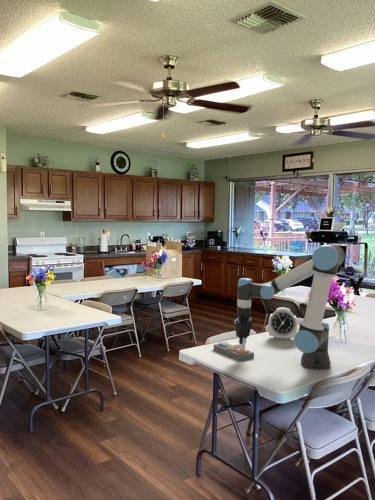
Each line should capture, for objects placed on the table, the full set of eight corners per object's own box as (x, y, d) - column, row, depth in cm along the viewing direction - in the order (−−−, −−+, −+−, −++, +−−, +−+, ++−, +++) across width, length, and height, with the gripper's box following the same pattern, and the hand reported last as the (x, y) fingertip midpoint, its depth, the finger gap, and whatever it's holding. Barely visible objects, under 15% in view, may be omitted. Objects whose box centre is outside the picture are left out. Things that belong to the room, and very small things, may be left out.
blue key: (230, 348, 247) (231, 343, 247) (224, 350, 244) (224, 344, 244) (225, 346, 251) (225, 341, 251) (218, 347, 249) (218, 342, 248)
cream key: (239, 349, 241) (239, 344, 241) (232, 350, 238) (233, 345, 238) (233, 347, 245) (234, 342, 245) (227, 348, 242) (227, 343, 242)
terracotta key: (248, 355, 235) (248, 350, 235) (241, 357, 232) (242, 351, 232) (242, 353, 239) (242, 348, 239) (235, 354, 236) (235, 349, 236)
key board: (253, 358, 235) (254, 352, 235) (240, 361, 230) (240, 355, 229) (226, 347, 254) (227, 342, 254) (213, 349, 248) (213, 344, 248)
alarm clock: (267, 339, 274) (268, 308, 272) (268, 336, 282) (269, 305, 281) (296, 342, 269) (298, 310, 268) (296, 338, 278) (297, 307, 276)
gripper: (248, 304, 241) (246, 345, 242) (230, 306, 233) (228, 349, 235) (257, 306, 234) (255, 349, 236) (239, 309, 227) (237, 353, 229)
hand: (242, 349), depth 235 cm, fingers closed
